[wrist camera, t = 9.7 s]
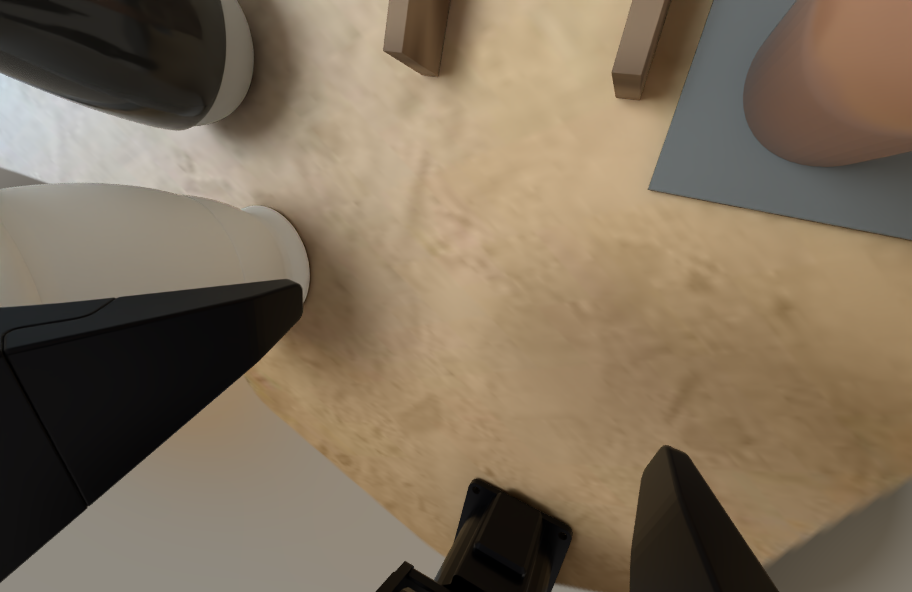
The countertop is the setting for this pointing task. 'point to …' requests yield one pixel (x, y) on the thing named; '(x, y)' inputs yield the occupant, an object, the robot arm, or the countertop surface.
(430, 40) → the frame
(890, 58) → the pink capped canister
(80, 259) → the jar
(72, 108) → the countertop surface
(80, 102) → the pump dispenser
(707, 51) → the mat
